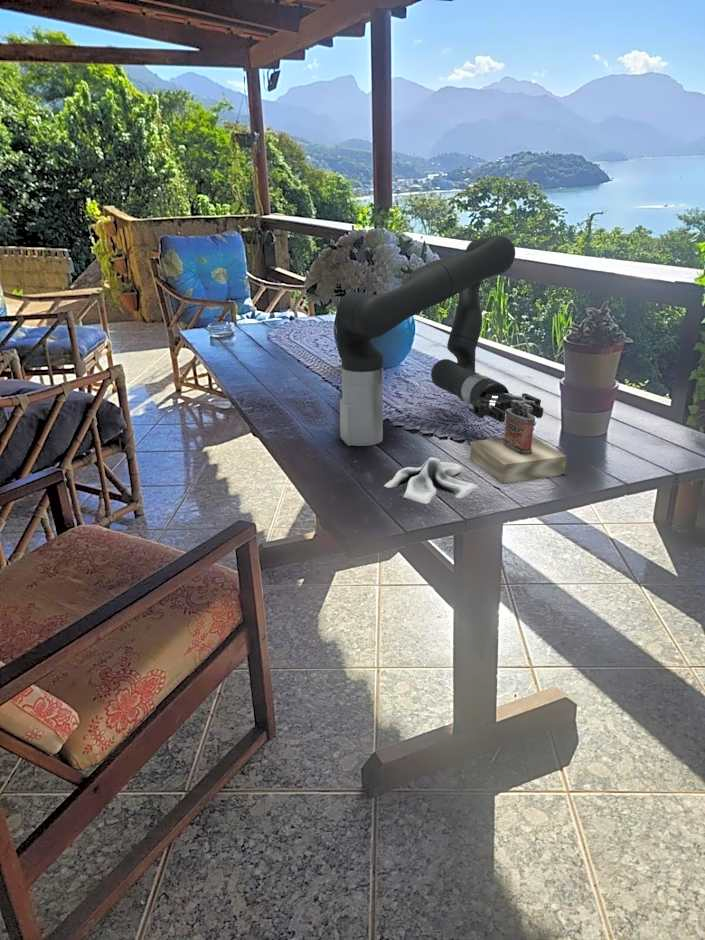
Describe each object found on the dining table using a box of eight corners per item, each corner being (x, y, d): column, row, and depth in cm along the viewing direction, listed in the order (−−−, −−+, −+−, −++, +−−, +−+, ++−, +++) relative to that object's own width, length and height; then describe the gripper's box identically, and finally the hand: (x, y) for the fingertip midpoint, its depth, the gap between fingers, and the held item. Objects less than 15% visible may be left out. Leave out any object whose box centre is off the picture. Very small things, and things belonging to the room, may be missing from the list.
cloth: (452, 462, 143) (454, 435, 141) (498, 495, 127) (501, 465, 125) (355, 476, 136) (355, 448, 134) (391, 514, 120) (391, 482, 118)
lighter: (499, 443, 140) (503, 397, 136) (513, 441, 141) (517, 395, 137) (521, 456, 133) (525, 408, 129) (535, 453, 134) (540, 406, 130)
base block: (502, 483, 130) (504, 464, 129) (470, 458, 143) (471, 441, 141) (564, 474, 134) (566, 456, 133) (527, 451, 147) (529, 434, 145)
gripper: (456, 380, 144) (492, 400, 130) (514, 375, 148) (555, 394, 134) (454, 413, 147) (489, 436, 133) (511, 407, 151) (551, 429, 137)
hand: (522, 415), depth 133 cm, fingers open, 8 cm apart
